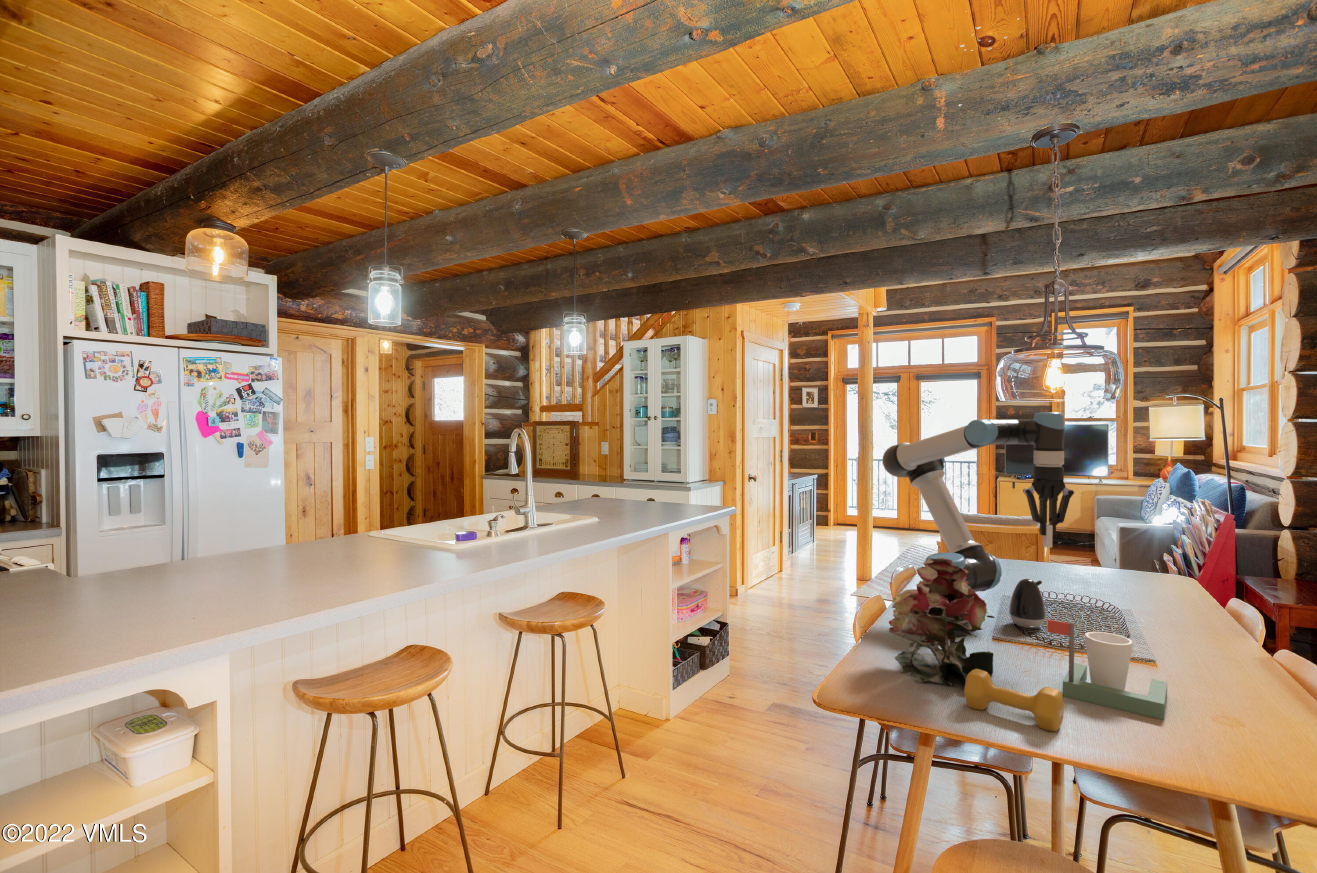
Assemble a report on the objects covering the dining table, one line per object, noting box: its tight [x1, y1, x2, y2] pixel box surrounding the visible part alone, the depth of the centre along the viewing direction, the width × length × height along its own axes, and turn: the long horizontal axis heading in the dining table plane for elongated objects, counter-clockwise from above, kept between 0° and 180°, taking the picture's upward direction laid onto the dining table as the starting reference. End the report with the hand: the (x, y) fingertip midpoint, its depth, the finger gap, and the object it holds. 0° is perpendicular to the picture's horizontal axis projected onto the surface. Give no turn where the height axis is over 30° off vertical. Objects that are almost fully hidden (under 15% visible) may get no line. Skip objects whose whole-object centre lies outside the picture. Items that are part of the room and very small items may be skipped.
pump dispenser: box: [1008, 578, 1047, 630], centre depth 203 cm, size 10×10×15 cm
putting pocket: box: [1046, 619, 1168, 721], centre depth 152 cm, size 16×22×18 cm
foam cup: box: [1084, 631, 1134, 691], centre depth 154 cm, size 10×9×13 cm
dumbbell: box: [963, 669, 1065, 732], centre depth 141 cm, size 19×9×8 cm, turn 45°
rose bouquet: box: [888, 557, 1000, 691], centre depth 167 cm, size 26×29×30 cm
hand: (1047, 546), depth 183 cm, fingers closed
